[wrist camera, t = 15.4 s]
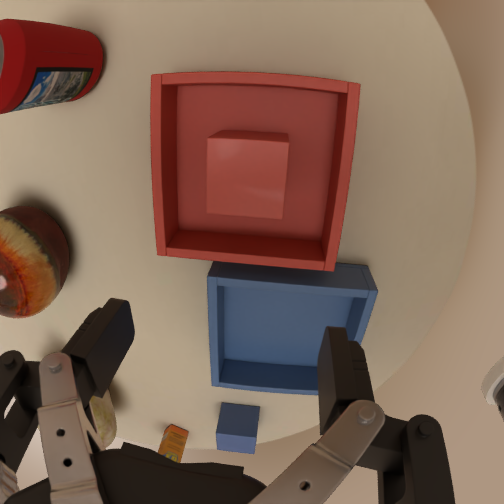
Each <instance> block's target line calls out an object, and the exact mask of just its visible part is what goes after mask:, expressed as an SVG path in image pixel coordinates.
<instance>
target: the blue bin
mask: <svg viewBox="0 0 504 504" xmlns="http://www.w3.org/2000/svg"><path fill="white" fill-rule="evenodd" d="M377 293H378V289H377V287H376V284H375V282H374V280H373V277H372V275H371V272H370V270H369V268H368V266H365V265H353V264H342V263H335V268H334V271H324V270H311V269H299V268H288V267H277V266H265V265H254V264H243V263H233V262H222V261H213V263H212V266H211V268H210V270H209V273H208V275H207V294H208V322H209V345H210V364H211V382H212V386H216V387H224V388H232V389H241V390H250V391H260V392H272V393H285V394H302V395H318V376H317V360H318V354H319V350H320V347H321V343H322V339H323V335H324V332H325V328H326V326H333V327H345V328H346V331H347V336H348V340H349V341H357V342H358V343H359V345H361V342H362V339H363V336H364V334H365V331H366V328H367V325H368V322H369V319H370V316H371V313H372V310H373V306H374V303H375V300H376V297H377Z"/></svg>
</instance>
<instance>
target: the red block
mask: <svg viewBox="0 0 504 504" xmlns="http://www.w3.org/2000/svg"><path fill="white" fill-rule="evenodd" d="M289 146H290V142H289V135H288V134H285V133H273V132H259V131H242V130H221V131H219V132H217V133H215V134H213V135H211V136H209V137H208V138H207V150H206V213H207V214H221V215H234V216H247V217H259V218H270V219H283V214H284V203H285V192H286V181H287V170H288V158H289Z"/></svg>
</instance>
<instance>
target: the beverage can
mask: <svg viewBox="0 0 504 504" xmlns="http://www.w3.org/2000/svg"><path fill="white" fill-rule="evenodd" d="M102 63H103V51H102V47H101V44H100V42H99V40H98V39H97V37H96V36H95V35H94V34H92V33H91V32H89V31H85V30H81V29H77V28H72V27H67V26H62V25H56V24H50V23H43V22H36V21H27V20H17V19H3V20H0V114H3V113H8V112H13V111H18V110H23V109H28V108H33V107H39V106H45V105H51V104H56V103H62V102H68V101H74V100H77V99H79V98H81V97H82V96H84V95H85V94H86V93H87V92H88V91H89V90H90V89H91V88H92V87H93V86H94V84H95V83H96V81H97V79H98V77H99V75H100V72H101V68H102Z"/></svg>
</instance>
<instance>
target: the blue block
mask: <svg viewBox="0 0 504 504" xmlns="http://www.w3.org/2000/svg"><path fill="white" fill-rule="evenodd" d="M259 410H260V407H257V406H247V405H238V404H230V403H222V405H221V410H220V415H219V420H218V425H217V430H216V441H217V450H223V451H231V452H240V453H249V454H254V453H255V446H256V438H257V429H258V420H259Z"/></svg>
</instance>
